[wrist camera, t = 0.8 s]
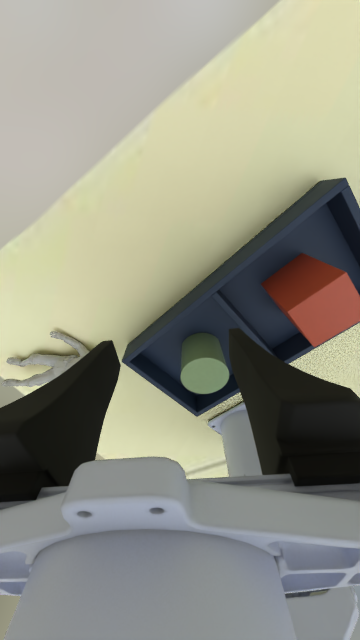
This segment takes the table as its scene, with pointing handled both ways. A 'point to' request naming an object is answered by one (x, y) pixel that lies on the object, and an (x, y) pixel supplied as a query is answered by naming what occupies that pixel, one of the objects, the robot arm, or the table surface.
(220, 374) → the pale green cylinder
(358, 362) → the table surface
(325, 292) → the red block
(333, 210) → the tray
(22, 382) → the soldier figure
